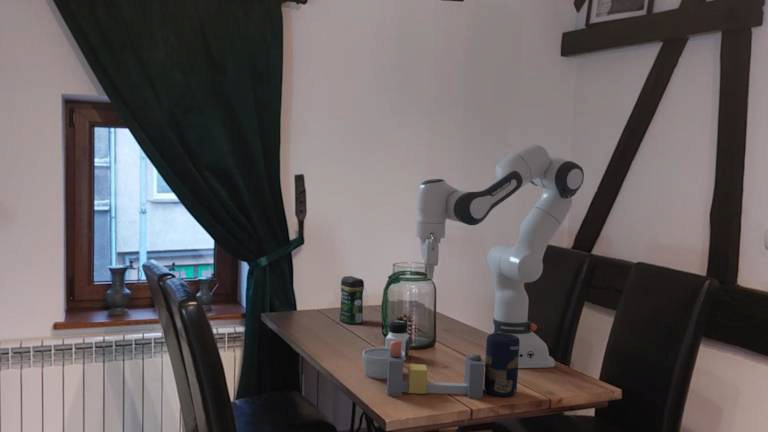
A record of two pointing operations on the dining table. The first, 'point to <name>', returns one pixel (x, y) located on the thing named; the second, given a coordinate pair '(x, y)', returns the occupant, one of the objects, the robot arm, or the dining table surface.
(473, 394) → the rail assembly
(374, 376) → the ramekin
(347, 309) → the coffee jar
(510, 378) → the canister
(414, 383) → the block
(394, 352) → the gauge button
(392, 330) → the medicine bottle
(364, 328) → the dining table surface
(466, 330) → the dining table surface
